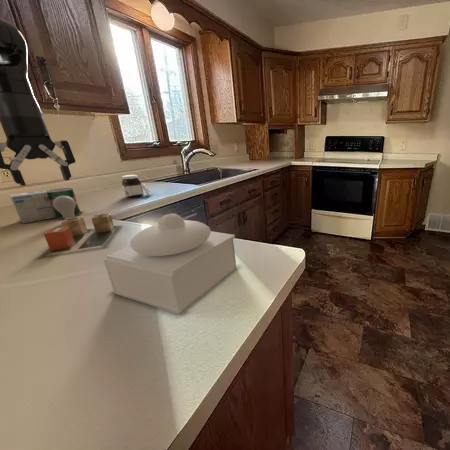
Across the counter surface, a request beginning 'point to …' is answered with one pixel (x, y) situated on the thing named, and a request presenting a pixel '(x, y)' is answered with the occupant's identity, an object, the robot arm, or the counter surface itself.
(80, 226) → the tan wooden cube
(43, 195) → the light bulb box
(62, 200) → the lightbulb
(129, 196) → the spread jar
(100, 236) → the dark green flat slab
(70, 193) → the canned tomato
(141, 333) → the counter surface
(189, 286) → the butter dish
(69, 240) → the orange block
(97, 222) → the tan wooden block
